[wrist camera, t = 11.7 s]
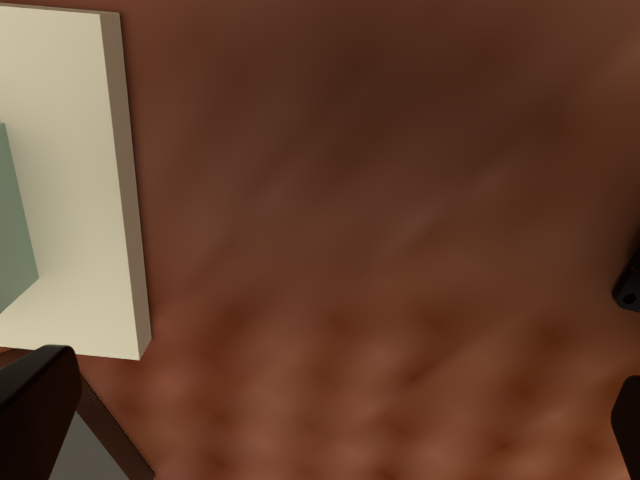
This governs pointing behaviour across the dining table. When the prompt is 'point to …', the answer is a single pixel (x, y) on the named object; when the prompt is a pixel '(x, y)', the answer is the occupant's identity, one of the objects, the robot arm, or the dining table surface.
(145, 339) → the board
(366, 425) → the dining table surface
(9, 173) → the sleeve
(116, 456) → the stand
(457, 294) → the dining table surface
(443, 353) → the dining table surface
